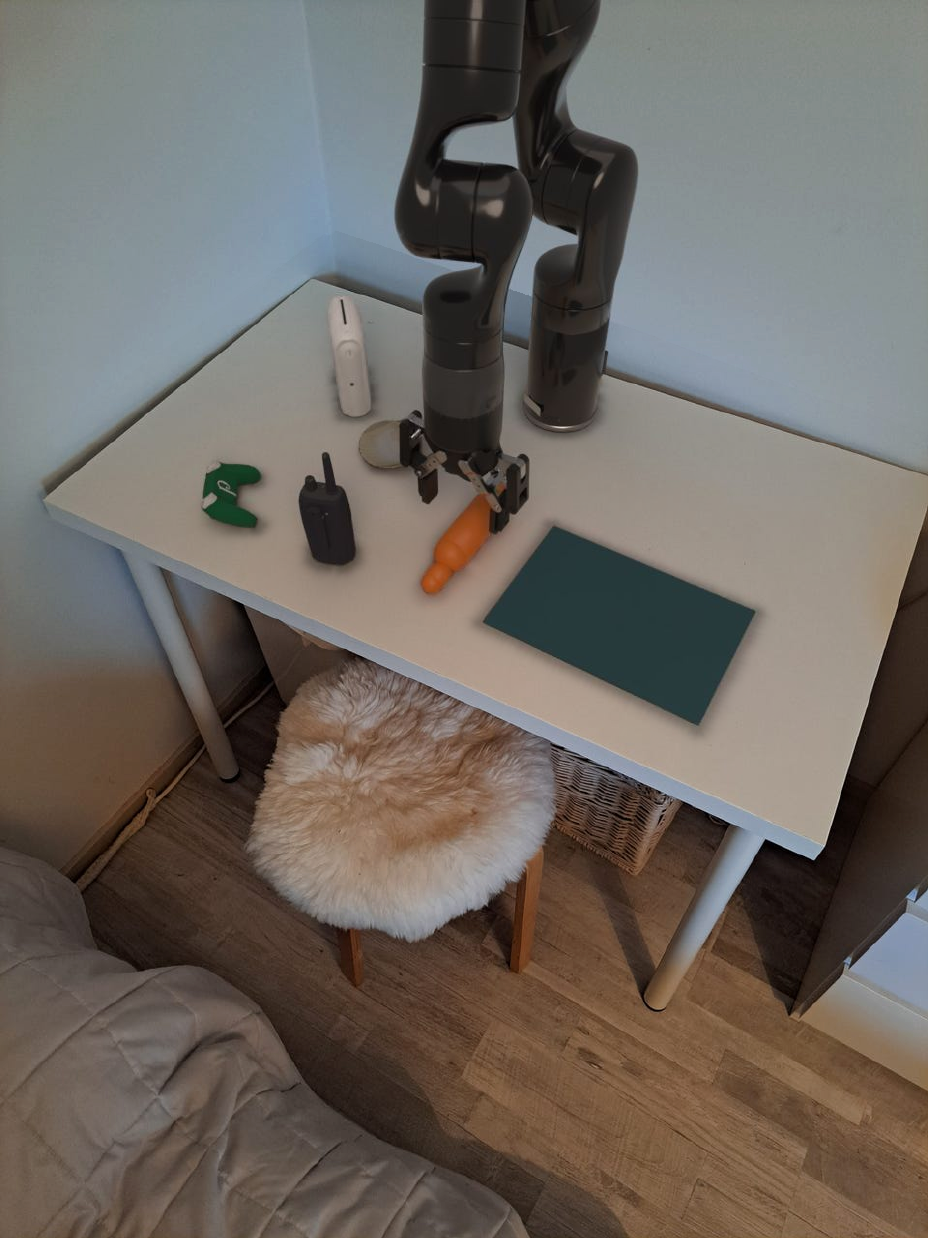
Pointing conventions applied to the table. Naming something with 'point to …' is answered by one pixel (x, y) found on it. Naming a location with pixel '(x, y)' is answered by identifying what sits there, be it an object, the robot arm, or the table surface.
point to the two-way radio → (327, 518)
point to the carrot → (458, 544)
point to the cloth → (623, 622)
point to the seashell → (382, 444)
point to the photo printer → (349, 356)
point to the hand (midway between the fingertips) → (462, 513)
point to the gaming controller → (228, 493)
